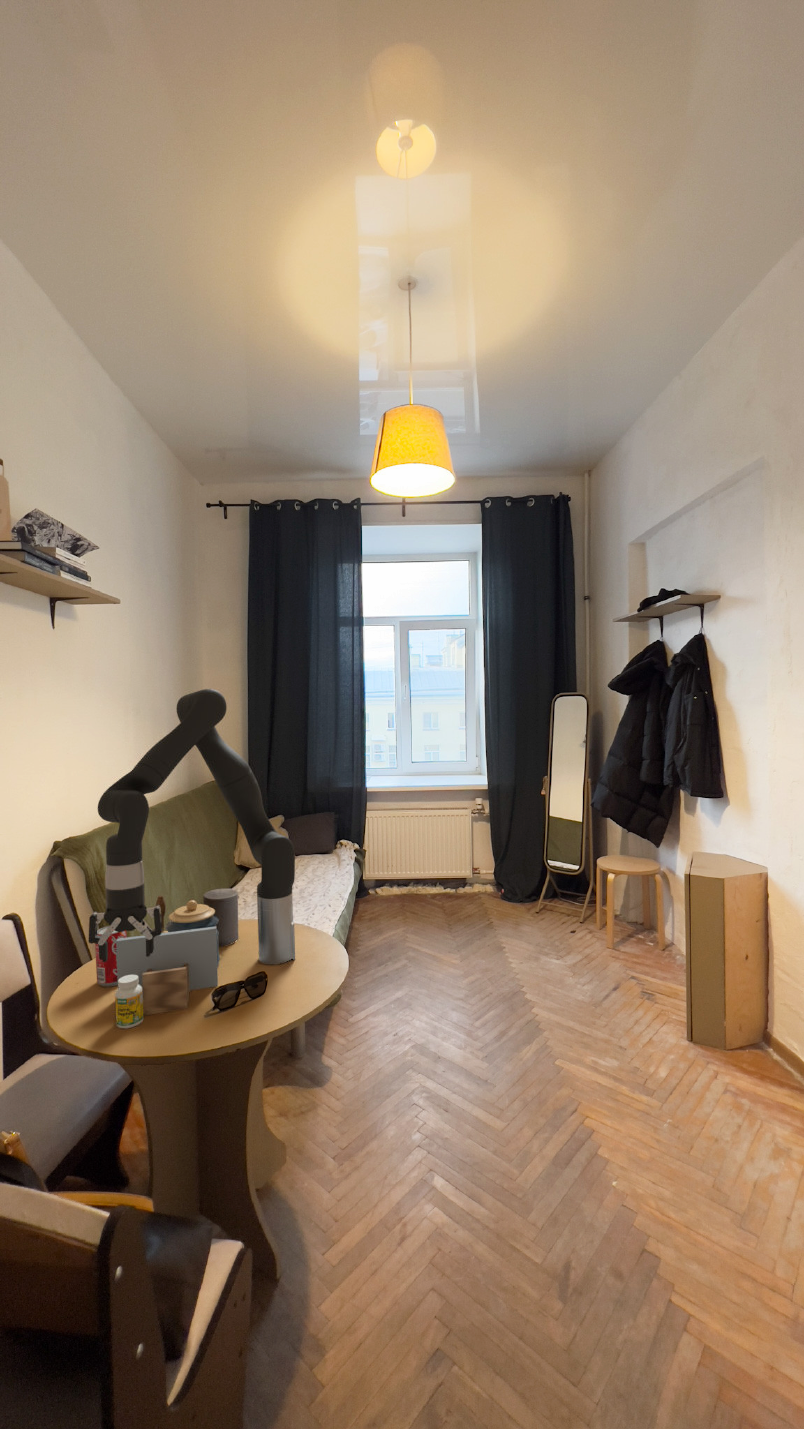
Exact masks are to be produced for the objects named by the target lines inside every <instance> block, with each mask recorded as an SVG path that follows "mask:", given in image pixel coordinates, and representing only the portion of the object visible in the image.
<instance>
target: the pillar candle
mask: <svg viewBox="0 0 804 1429" xmlns="http://www.w3.org/2000/svg"><path fill="white" fill-rule="evenodd" d="M238 894H239V891H237V889H233V888H216V889H212V890H209V891H206V892H205V893H203V899H202V900H203V904H204V905H207V906H209V907H211V908H213V909H214V910H215V913H214V916H216V917H217V918H218V919H219V921H218V923H217V930H218V931H219V935H218V941H219V948H220V947H226V945H227V946H230V945H232V944H231V943H233V942H235V941H236V940H237V941H239V895H238ZM237 941H236V942H237ZM236 942H235V943H236ZM229 944H230V945H229ZM233 944H234V943H233Z"/></svg>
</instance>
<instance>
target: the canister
mask: <svg viewBox="0 0 804 1429" xmlns="http://www.w3.org/2000/svg"><path fill="white" fill-rule="evenodd" d="M214 913H215V910H214V909H213V908H211V907H209V906H207V905H204V904H202V903H197V901H196V900H194V899H192V900H188V901H187V903H186V905H183V906H180V907H177V908H176V909H175V910H174V911H173V912H171V913H170V914H169V915H168V920H169V922H167V923H166V924H165V926H164V929H165V931H166V932H176V931H184V930H192V929H200V928H208V927H216V941H217V968H218V967H219V966H220V959H221V958H220V956H221V954H220V947H219V941H218V935H219V931H218V930H217V923H218V921H219V919H218V918H217V917H216V916H214Z"/></svg>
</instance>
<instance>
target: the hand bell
mask: <svg viewBox="0 0 804 1429" xmlns="http://www.w3.org/2000/svg"><path fill="white" fill-rule="evenodd" d="M156 905H160V907H161V918H162V932H161V933H168V931H167V930H165V921H164V920H165V914H166V909H167V908H166V906H167V905H166V902H165V899H164V895H162V894H161V895H158V896H157V899H156V902H155V906H156Z"/></svg>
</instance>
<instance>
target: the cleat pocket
mask: <svg viewBox="0 0 804 1429" xmlns="http://www.w3.org/2000/svg"><path fill="white" fill-rule="evenodd" d="M189 995H190V990H189V966H188V964H184V967H182V968H175V969H168V970H160V971H153V972H152V969H148V970H147V972H146V973H143V1014H144V1016H149V1015H156V1014H162V1013H166V1012H167V1013H168V1012H173V1011H181V1010H186V1009H187V1010H188V1006H189V997H190V996H189Z"/></svg>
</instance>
